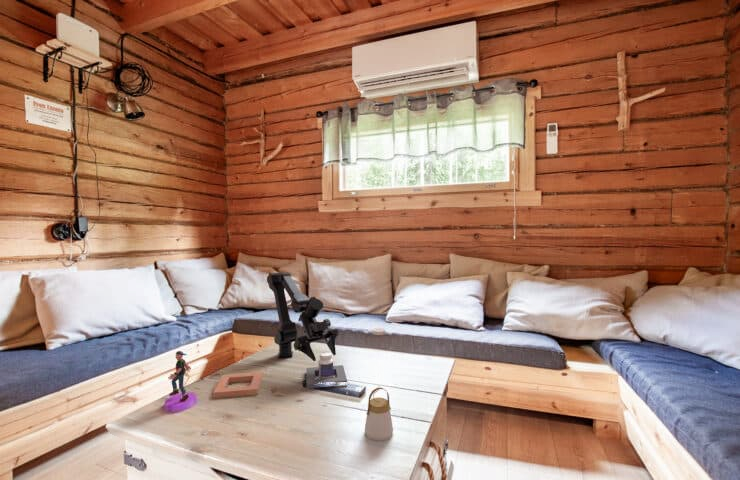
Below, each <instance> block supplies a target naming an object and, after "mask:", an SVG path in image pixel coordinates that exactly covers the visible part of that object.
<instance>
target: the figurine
mask: <svg viewBox="0 0 740 480" xmlns="http://www.w3.org/2000/svg"><path fill="white" fill-rule="evenodd" d="M187 355H188V354H187V353H184V352H183V351H181V350H177V351H176V353H175V359H176V363H175V370H176V371H175V372H173V373H171V374H170V375H169V376H168V377H167V378H168V380H169V381H171V386H172V391H171V392H170V393H169V397H168V398H166V399H165V401H164V410H165V411H167V412H171V413H174V412H175V413H176V412H181V411H185V410H187V409H190V408H192V407H193V406H195V405H196V404H197V394H196V393H194V392H187V390H186V389H185V387H184V380H185V378H184V377H185V374H186V372H187V373H191V372H190V371H191V370H192V368H191V366H190V365H189V363H187V362H186V360H185V359H184V358H183V357H184V356H187ZM177 381H178V383H177ZM177 384H178V385H177ZM179 390H180V392H179Z"/></svg>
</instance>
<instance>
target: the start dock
mask: <svg viewBox="0 0 740 480" xmlns="http://www.w3.org/2000/svg"><path fill="white" fill-rule="evenodd" d="M305 369H306V370H305V371H306V378H305V379H306V383H307V384H306V390H315V389H314V384H317V383H319V382H320V383H321V382H322V383H324V382H347V383H348V379H347V376H346V372H345V367H344V365H341V364H339V365H333V375H335V376H336V377H333V378H327V379H319V378H317V379H316V376H319V366H315V367H314V366H313V367H306V368H305Z"/></svg>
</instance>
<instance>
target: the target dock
mask: <svg viewBox="0 0 740 480" xmlns="http://www.w3.org/2000/svg"><path fill="white" fill-rule="evenodd" d="M263 378H264V372H263V371H257V372H245V373H244V372H243V373H229V374H228V373H227V374H222V376H221V378H220V379H219V381H218V383H217V385H216V386H215V389H214V390H213V391H212V399H221V398H230V397H231V398H232V397H245V396H257V395H259V392H260V389H261V385H262V381H263ZM240 382H242V383H243V382H251V383H250V385H246V386H245V385H244V386H232V387H228V386H229V384H230V383H240Z"/></svg>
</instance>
